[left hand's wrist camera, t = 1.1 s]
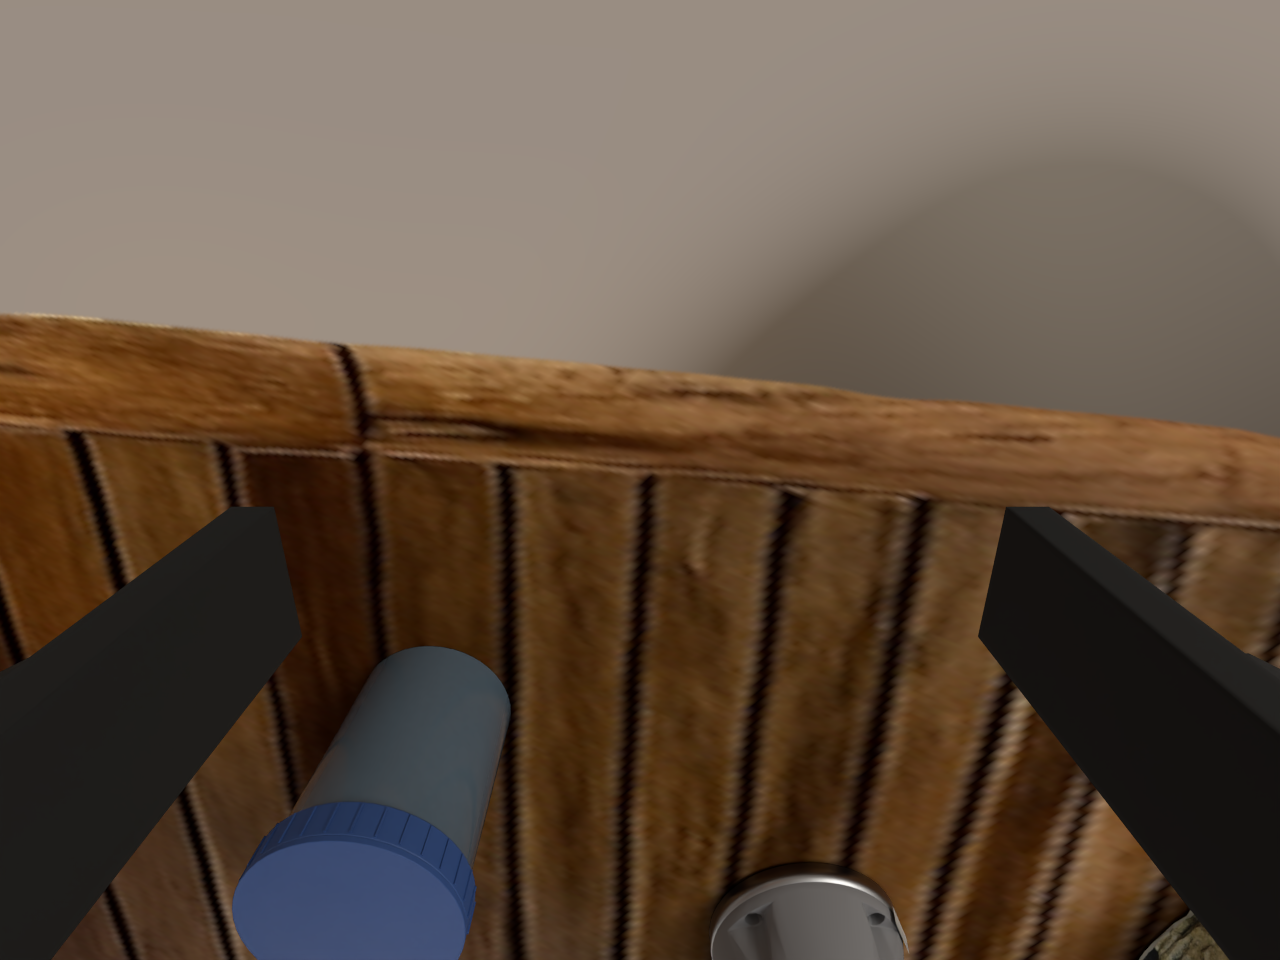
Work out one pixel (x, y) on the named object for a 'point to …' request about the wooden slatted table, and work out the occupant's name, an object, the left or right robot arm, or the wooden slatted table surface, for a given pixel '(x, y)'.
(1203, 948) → the fossil
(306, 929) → the lid
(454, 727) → the jar
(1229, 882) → the left robot arm
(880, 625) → the wooden slatted table surface
